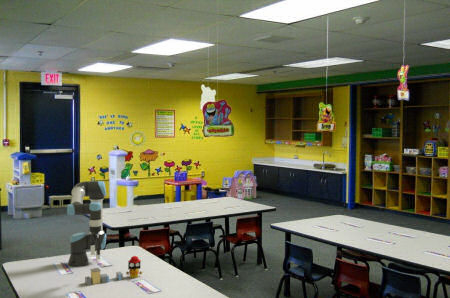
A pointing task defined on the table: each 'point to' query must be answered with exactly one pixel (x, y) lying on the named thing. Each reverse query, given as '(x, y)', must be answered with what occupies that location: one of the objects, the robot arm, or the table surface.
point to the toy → (134, 267)
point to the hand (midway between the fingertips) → (95, 257)
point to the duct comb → (105, 278)
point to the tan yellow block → (95, 276)
